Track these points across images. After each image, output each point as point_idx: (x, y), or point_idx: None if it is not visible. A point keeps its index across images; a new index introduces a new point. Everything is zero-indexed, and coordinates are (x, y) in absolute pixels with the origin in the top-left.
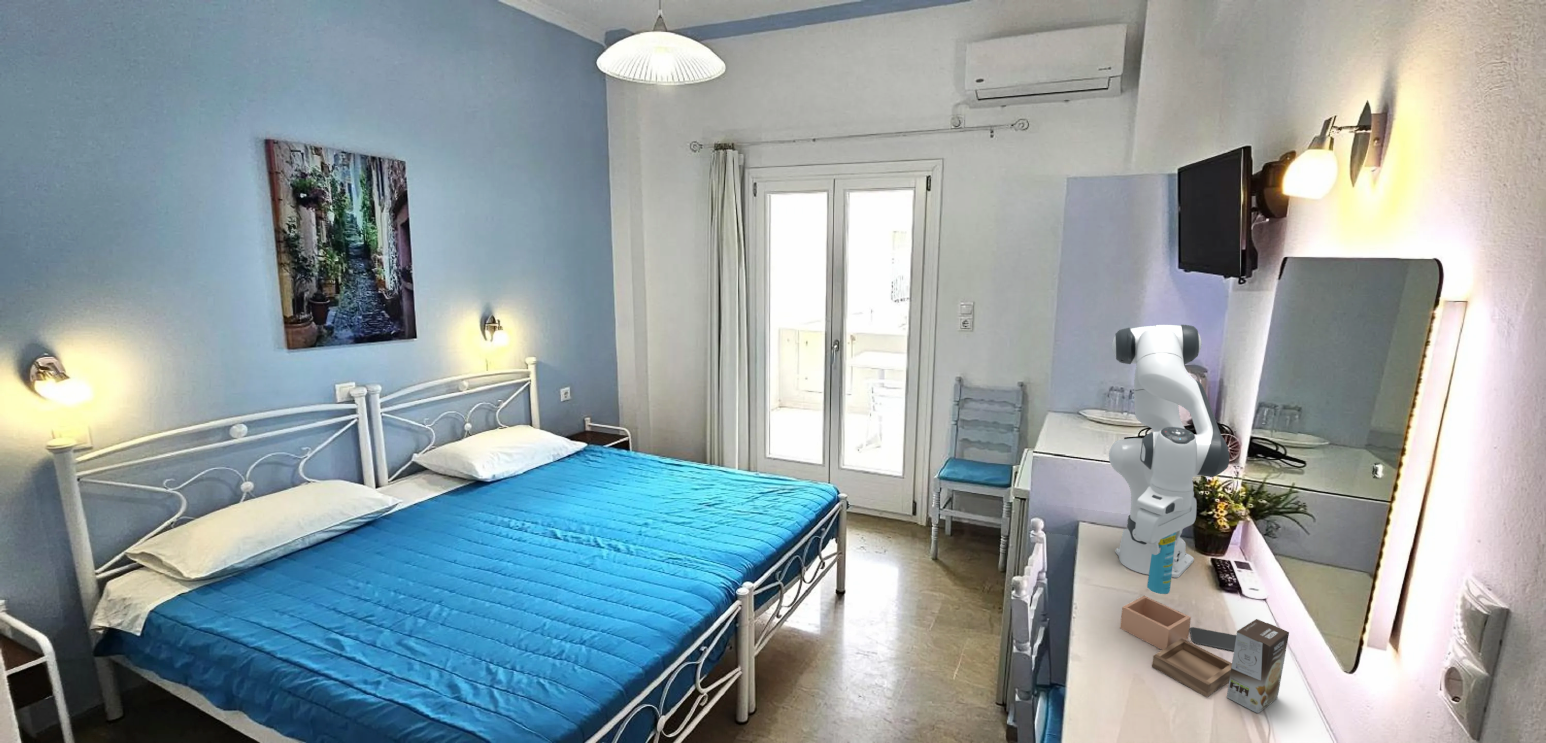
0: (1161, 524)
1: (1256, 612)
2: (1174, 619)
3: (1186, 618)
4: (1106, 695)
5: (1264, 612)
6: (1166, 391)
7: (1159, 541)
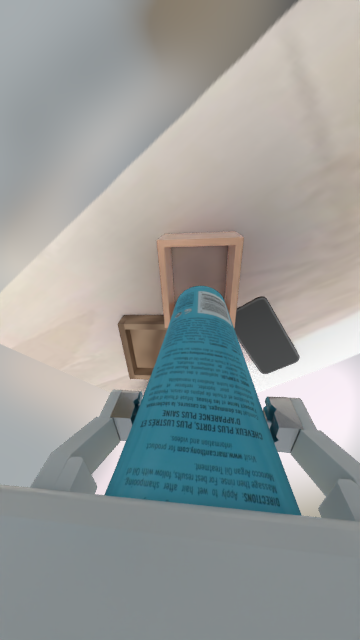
0: None
1: None
2: (228, 300)
3: None
4: (30, 315)
5: None
6: None
7: (95, 488)
